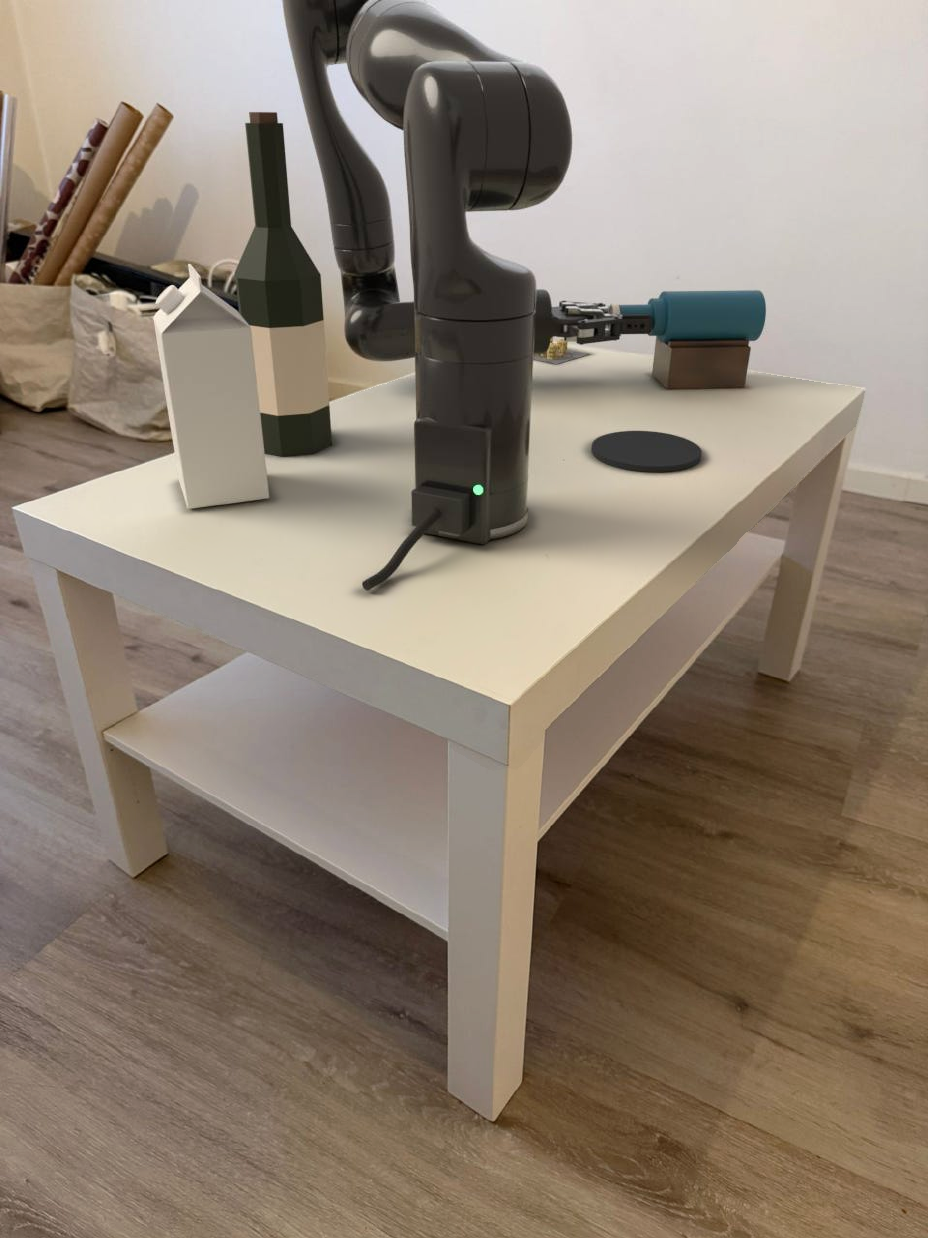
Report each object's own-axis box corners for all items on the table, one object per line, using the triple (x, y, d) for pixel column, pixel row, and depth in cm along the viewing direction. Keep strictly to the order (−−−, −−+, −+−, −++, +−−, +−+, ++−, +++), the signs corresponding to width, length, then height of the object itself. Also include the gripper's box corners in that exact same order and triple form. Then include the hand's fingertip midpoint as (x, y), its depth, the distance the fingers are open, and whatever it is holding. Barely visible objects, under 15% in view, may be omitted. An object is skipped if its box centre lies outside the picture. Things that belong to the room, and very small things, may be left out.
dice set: (546, 347, 131) (546, 334, 130) (574, 353, 128) (575, 339, 127) (524, 353, 128) (524, 339, 127) (552, 360, 125) (553, 345, 124)
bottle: (744, 337, 117) (750, 288, 114) (762, 344, 111) (769, 292, 109) (603, 339, 115) (606, 289, 113) (614, 346, 110) (618, 294, 107)
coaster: (687, 479, 86) (688, 473, 85) (577, 461, 90) (577, 456, 89) (711, 444, 94) (711, 439, 94) (609, 430, 98) (609, 424, 98)
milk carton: (256, 473, 86) (232, 261, 77) (270, 500, 80) (245, 274, 71) (179, 482, 84) (144, 265, 74) (187, 511, 78) (151, 279, 69)
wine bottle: (340, 431, 97) (320, 111, 82) (322, 458, 90) (297, 112, 75) (265, 428, 98) (231, 111, 83) (241, 454, 91) (200, 112, 76)
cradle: (725, 373, 120) (732, 329, 117) (744, 387, 114) (752, 342, 111) (651, 374, 119) (656, 330, 116) (667, 389, 113) (672, 343, 110)
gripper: (518, 301, 102) (667, 299, 104) (502, 279, 115) (636, 278, 116) (516, 367, 106) (660, 365, 108) (501, 340, 118) (630, 338, 120)
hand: (646, 320), depth 112 cm, fingers closed on bottle, 3 cm apart
